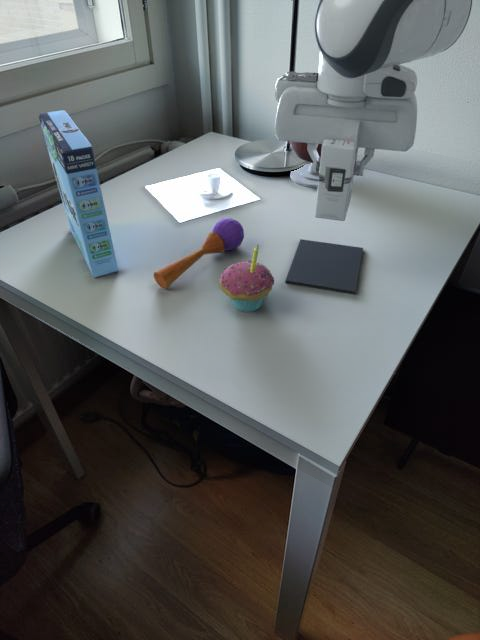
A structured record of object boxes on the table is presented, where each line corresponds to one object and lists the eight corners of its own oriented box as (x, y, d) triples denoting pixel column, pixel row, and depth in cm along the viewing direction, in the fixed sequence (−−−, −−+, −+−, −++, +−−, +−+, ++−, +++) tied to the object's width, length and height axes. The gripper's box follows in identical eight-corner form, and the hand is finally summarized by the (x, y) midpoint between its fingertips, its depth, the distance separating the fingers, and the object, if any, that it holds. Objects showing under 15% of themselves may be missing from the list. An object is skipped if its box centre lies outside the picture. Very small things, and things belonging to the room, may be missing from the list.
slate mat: (362, 250, 88) (363, 247, 87) (355, 294, 78) (355, 291, 77) (300, 241, 90) (300, 239, 90) (285, 283, 80) (285, 280, 80)
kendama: (144, 261, 79) (224, 210, 89) (155, 290, 82) (231, 237, 92) (165, 269, 75) (246, 215, 85) (176, 299, 79) (253, 243, 88)
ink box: (322, 194, 80) (332, 104, 70) (351, 198, 79) (365, 106, 69) (313, 218, 74) (323, 122, 64) (344, 222, 73) (359, 125, 63)
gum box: (70, 229, 95) (35, 113, 80) (94, 223, 97) (65, 108, 82) (93, 279, 82) (57, 151, 67) (121, 271, 84) (92, 145, 69)
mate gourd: (343, 191, 106) (356, 98, 93) (283, 186, 108) (287, 95, 95) (345, 164, 117) (357, 78, 104) (291, 160, 120) (296, 75, 106)
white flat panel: (203, 204, 102) (202, 187, 99) (188, 191, 107) (186, 174, 105) (238, 195, 105) (237, 178, 103) (221, 182, 111) (220, 165, 108)
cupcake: (281, 297, 77) (285, 235, 69) (255, 326, 72) (256, 263, 64) (238, 281, 81) (237, 220, 73) (210, 308, 75) (205, 245, 67)
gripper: (271, 76, 63) (268, 173, 72) (428, 85, 58) (404, 188, 68) (281, 65, 67) (277, 158, 77) (427, 73, 63) (405, 170, 72)
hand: (338, 172), depth 72 cm, fingers closed on ink box, 5 cm apart
